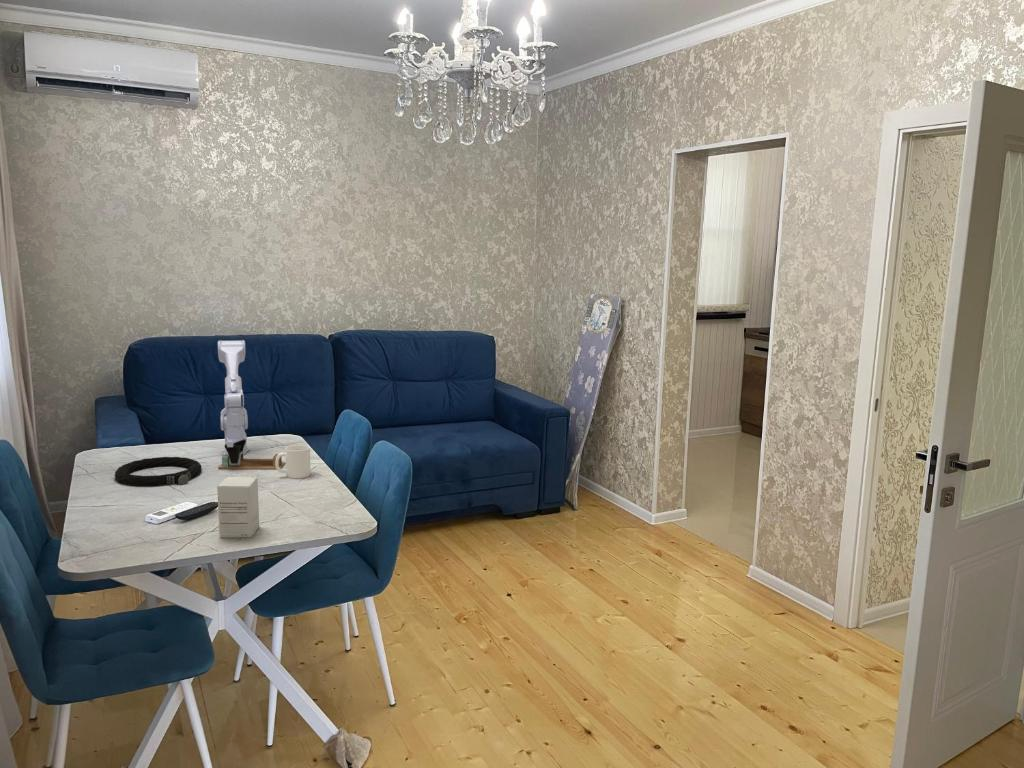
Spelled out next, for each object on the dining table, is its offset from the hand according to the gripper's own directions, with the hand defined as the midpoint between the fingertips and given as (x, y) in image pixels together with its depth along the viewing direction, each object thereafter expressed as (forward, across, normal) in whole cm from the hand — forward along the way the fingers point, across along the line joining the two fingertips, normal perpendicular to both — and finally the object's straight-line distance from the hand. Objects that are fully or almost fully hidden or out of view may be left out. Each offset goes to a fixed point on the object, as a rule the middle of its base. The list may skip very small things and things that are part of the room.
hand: (236, 461), depth 274 cm
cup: (+2, -12, -23) cm, 26 cm away
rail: (+2, 0, -6) cm, 6 cm away
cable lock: (+2, -12, +22) cm, 25 cm away
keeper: (+2, 0, 0) cm, 2 cm away
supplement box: (+2, -66, -19) cm, 69 cm away
